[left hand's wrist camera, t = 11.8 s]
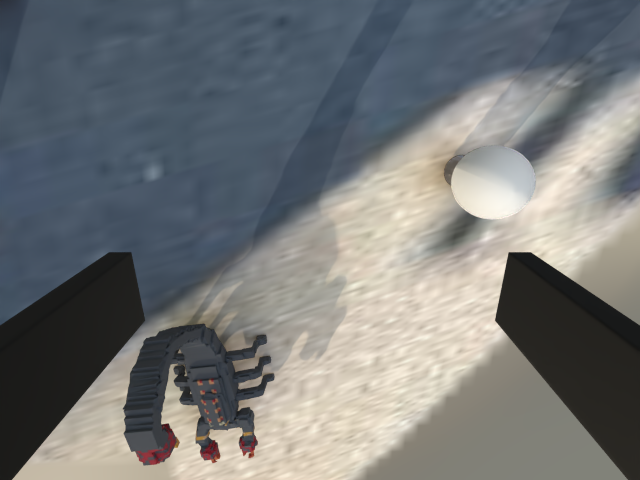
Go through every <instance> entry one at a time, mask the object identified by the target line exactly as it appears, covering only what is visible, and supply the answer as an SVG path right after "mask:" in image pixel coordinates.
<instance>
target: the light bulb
mask: <svg viewBox="0 0 640 480" xmlns="http://www.w3.org/2000/svg"><path fill="white" fill-rule="evenodd" d="M444 176H445V179H446V181H447V182H448V183H449V184H450V185H451V188H452V192H453V195H454V197H455V199H456V201H457V202H458V204H459V205H460V206H461V207H462V208H463V209H464V210H465V211H467V212H468V213H470V214H472V215H474V216H477V217H480V218H485V219H501V218H505V217H509V216H511V215H513V214H516V213H517V212H519V211H520V210H521V209H522V208H524V207H525V206H526V205H527V203H528V202H529V201H530V199H531V197H532V196H533V193H534V190H535V184H536V178H535V173H534V170H533V168H532V166H531V164H530V162H529V161H528V160H527V159H526V158H525V157H524V156H523V155H522V154H521V153H519V152H517V151H516V150H513V149H511V148H508V147H505V146H495V145H492V146H484V147H481V148H478V149H475V150H473V151H471V152H469V153H468V154H466V155H459V156H456V157H453V158H452V159H451V160H449V162H448V163H447V164H446V166H445V169H444Z"/></svg>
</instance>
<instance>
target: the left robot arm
mask: <svg viewBox="0 0 640 480" xmlns="http://www.w3.org/2000/svg"><path fill="white" fill-rule="evenodd" d="M144 321H145V318H144V313H143V308H142V303H141V298H140V293H139V288H138V283H137V279H136V274H135V269H134V264H133V259H132V254H131V252H109V253H108V254H106V255H105V256H103V257H102V258H100V259H99V260H97V261H96V262H94V263H93V264H91V265H90V266H88V267H87V268H85V269H84V270H82V271H81V272H79V273H78V274H76V275H75V276H73V277H72V278H70V279H69V280H67V281H66V282H64V283H63V284H61V285H60V286H58V287H57V288H55V289H54V290H52V291H51V292H49V293H48V294H46V295H45V296H44V297H42V298H41V299H39V300H38V301H36V302H35V303H33V304H32V305H30V306H29V307H27V308H26V309H24V310H23V311H21V312H20V313H18V314H17V315H15V316H14V317H12V318H11V319H9V320H8V321H6V322H5V323H3V324H2V325H0V480H12V479H13V478H14V477H15V475H16V474H17V473H18V472H19V471H20V469H21V468H22V467H23V466H24V465H25V464H26V462H27V461H28V460H29V459H30V458H31V456H32V455H33V454H34V453H35V452H36V450H37V449H38V448H39V447H40V446H41V444H42V443H43V442H44V441H45V440H46V438H47V437H48V436H49V435H50V434H51V432H52V431H53V430H54V429H55V428H56V426H57V425H58V424H59V423H60V422H61V420H62V419H63V418H64V417H65V416H66V414H67V413H68V412H69V411H70V410H71V408H72V407H73V406H74V405H75V404H76V402H77V401H78V400H79V399H80V398H81V396H82V395H83V394H84V393H85V392H86V390H87V389H88V388H89V387H90V386H91V384H92V383H93V382H94V381H95V380H96V379H97V377H98V376H99V375H100V374H101V373H102V371H103V370H104V369H105V368H106V367H107V365H108V364H109V363H110V362H111V361H112V359H113V358H114V357H115V356H116V355H117V353H118V352H119V351H120V350H121V349H122V347H123V346H124V345H125V344H126V343H127V341H128V340H129V339H130V338H131V337H132V335H133V334H134V333H135V332H136V331H137V329H138V328H139V327H140V326H141V325H142V323H143V322H144ZM495 321H496V322H497V323H498V325H499V326H500V327H501V328H502V329H503V331H504V332H505V333H506V334H507V335H508V337H509V338H510V339H511V340H512V341H513V343H514V344H515V345H516V346H517V347H518V349H519V350H520V351H521V352H522V353H523V354H524V356H525V357H526V358H527V359H528V361H529V362H530V363H531V364H532V365H533V366H534V368H535V369H536V370H537V371H538V373H539V374H540V375H541V376H542V377H543V378H544V380H545V381H546V382H547V383H548V384H549V386H550V387H551V388H552V389H553V390H554V392H555V393H556V394H557V395H558V396H559V398H560V399H561V400H562V401H563V402H564V404H565V405H566V406H567V407H568V408H569V410H570V411H571V412H572V413H573V414H574V416H575V417H576V418H577V419H578V420H579V422H580V423H581V424H582V425H583V426H584V428H585V429H586V430H587V431H588V432H589V434H590V435H591V436H592V437H593V438H594V440H595V441H596V442H597V443H598V444H599V446H600V447H601V448H602V449H603V450H604V451H605V453H606V454H607V455H608V456H609V458H610V459H611V460H612V461H613V462H614V464H615V465H616V466H617V467H618V468H619V469H620V471H621V472H622V473H623V474H624V475H625V477H626V478H627V479H628V480H640V325H638V324H637V323H635V322H634V321H632V320H631V319H629V318H628V317H626V316H625V315H623V314H622V313H620V312H619V311H617V310H616V309H614V308H613V307H611V306H610V305H608V304H607V303H605V302H604V301H602V300H601V299H599V298H598V297H596V296H595V295H593V294H592V293H591V292H589V291H588V290H586V289H585V288H583V287H582V286H580V285H579V284H577V283H576V282H574V281H573V280H571V279H570V278H568V277H567V276H565V275H564V274H562V273H561V272H559V271H558V270H556V269H555V268H553V267H552V266H550V265H549V264H547V263H546V262H544V261H543V260H541V259H540V258H538V257H537V256H535V255H534V254H532V253H531V252H509V254H508V259H507V264H506V269H505V274H504V279H503V283H502V288H501V293H500V298H499V303H498V308H497V313H496V318H495Z"/></svg>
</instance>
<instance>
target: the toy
mask: <svg viewBox="0 0 640 480" xmlns="http://www.w3.org/2000/svg"><path fill="white" fill-rule="evenodd" d="M143 343H144V345H143V346H142V348H141V350H140V353H139V356H138V359H137V362H136V364H135V366H134V367H133V368H132V371H131V373H130V384H129V387H128V394H127V400H126V404H125V406H124V408H123V409H125V410H124V413H125V415H126V417H125V419H124V421H125V425H126V430H125V432H124V435H125V438H126V440H127V442H128V445H129V447H130V450H131V452H133V451H135V452H136V454H137V457H139V461H141V462H143V465H154V464H157V463H160V462H164V461H165V459H167V458H168V457H170V455H171V453H172V451H173V449H174V447H175V448H178V445H179V443H180V442H179V440H178V439H177V437H175V435H174V433H173V431H172V429H170V426H169V424H162V425H161V417H162V416H161V412H162V409H163V402H164V399H165V390H166V386H167V382H168V374H169V368H170V365H171V364H177V363H178V365H181V364H185V367H186V371H187V376H184V375H185V367H184V366H175V367H174V372H175V374H176V375H178V376H177V377H176V378H175V380H174V383H175V385H176V386H177V387H180V391H183V393H182V395H181V397H180V399H179V400H180V402H181V404H183V405H198V408H199V411H200V414H201V418H199V421H198V424H197V431H196V444H197V443H199V445H200V446H201V450H200V454H201V457H203V458H204V460H211V461H212V463H215V462H217V461H215V460H217V459H220V453H219V449H218V443H217V442H215V440H211V439H210V438H209V437H208V436H209V434H210V433H209V430H210V429H214V430H228V429H231V428H237V427H240V428H242V430H243V435H242V436H241V437H240V440H239V446H240V449H242V452H243V456H244V455H245V454H246V453H247V452H251V453H249V458H251V457H253V456H254V450H255V446H257V444H258V441H257V440H256V436H255V435H254V429H255V427H254V422H253V421H254V413H253V411H252V410H250V407H247V408H242V409H241V410H240V411H238V407H239V405H238V402H239V401H240V400H245V399H250V398H255V397H259V396H262V395H263V394H264V391H265V388H266V385H267V382H270V381H273V380H274V374H268V375H264V376H263V379H262V382H261V384H260V385H259V386H257V387H251V388H246V389H241V390H240V389H238V386H239V385H238V383H240V382H245V381H247V380H251V379H256V378H258V377H260V376H261V375H262V371H263V366H264V365H265V364H269V363H271V358H270V357H261V358H260V359H259V363H258V366H256V367H255V369H248V370H243V371H238V372H236V373H235V369H234V366H233V363H232V361H235V360H242V359H248V358H253V357H254V356H255V353H256V351H257V348H258V347H259V345H263V344H266V343H267V339H266V335H263V336H257V340H256V341H254V343H253V346H252V347H251V348H246V349H242V350H236V351H229V352H227V351H226V349H225V348H224V346H223V345H222V343H221V342H220V341H219V339H218V337H217V335H216V333H215V331H214V329H212V330H210V329H208V328H207V327H206V326H205V324H197V325H187V326H179V327H174V328H170V329H166V330H163V331H159V333H158V334H157V335H156V336H155V337H150V338H146V339H145V341H144V342H143ZM179 349H180V350H181V352H182V353H178V351H179ZM177 353H178V354H177ZM190 392H191V393H192V394H190Z"/></svg>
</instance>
